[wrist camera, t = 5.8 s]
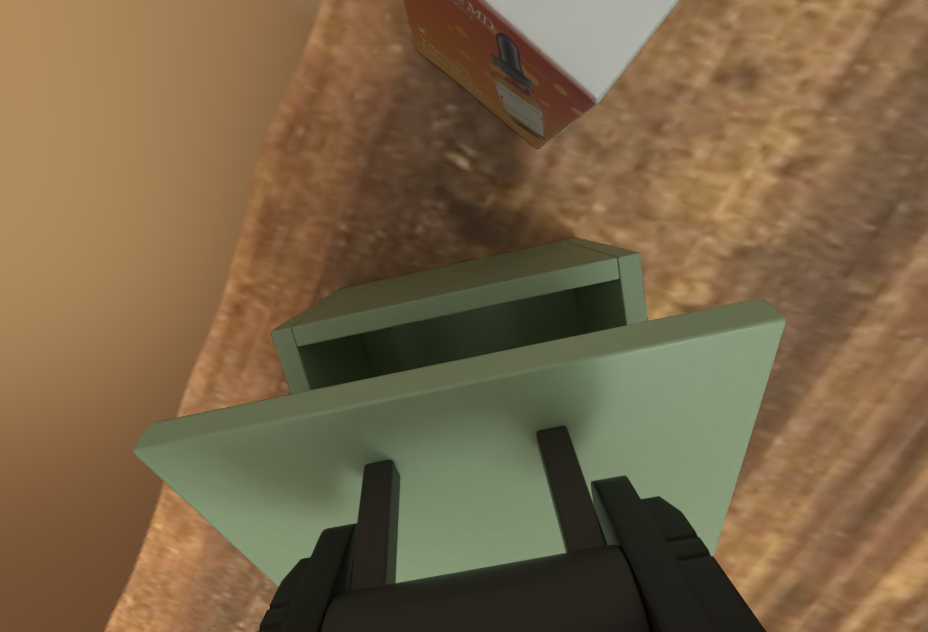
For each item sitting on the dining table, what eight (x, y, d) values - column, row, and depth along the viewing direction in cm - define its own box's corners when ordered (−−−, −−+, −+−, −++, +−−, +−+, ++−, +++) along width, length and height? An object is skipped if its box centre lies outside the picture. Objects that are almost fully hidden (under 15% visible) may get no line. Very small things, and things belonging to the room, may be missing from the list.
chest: (338, 288, 24) (269, 331, 16) (577, 237, 24) (640, 252, 15) (405, 520, 28) (379, 657, 19) (614, 482, 27) (682, 606, 19)
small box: (414, 50, 21) (368, -95, 11) (483, -55, 20) (502, -320, 10) (538, 154, 23) (598, 108, 12) (610, 60, 22) (740, -75, 11)
